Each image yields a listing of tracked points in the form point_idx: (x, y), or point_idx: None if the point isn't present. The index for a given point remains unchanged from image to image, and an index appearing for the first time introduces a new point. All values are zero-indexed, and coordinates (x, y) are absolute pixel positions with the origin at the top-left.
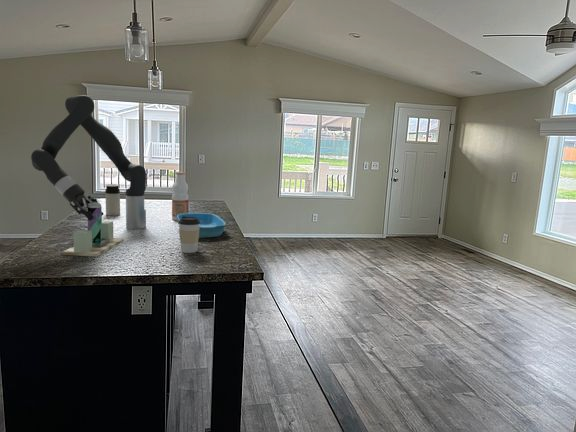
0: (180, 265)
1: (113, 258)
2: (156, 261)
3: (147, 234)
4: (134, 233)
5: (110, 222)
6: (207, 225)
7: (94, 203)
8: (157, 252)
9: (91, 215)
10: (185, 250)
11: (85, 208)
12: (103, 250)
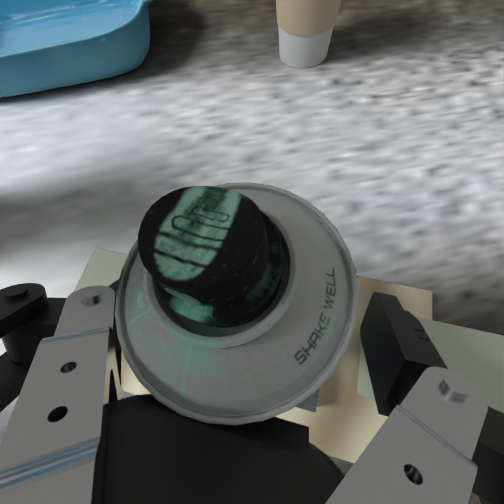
0: (461, 52)
1: (434, 227)
2: (437, 104)
3: (65, 181)
4: (34, 227)
5: (126, 256)
6: (10, 40)
7: (311, 252)
8: (329, 117)
9: (402, 310)
10: (327, 50)
11: (451, 410)
12: (360, 278)
